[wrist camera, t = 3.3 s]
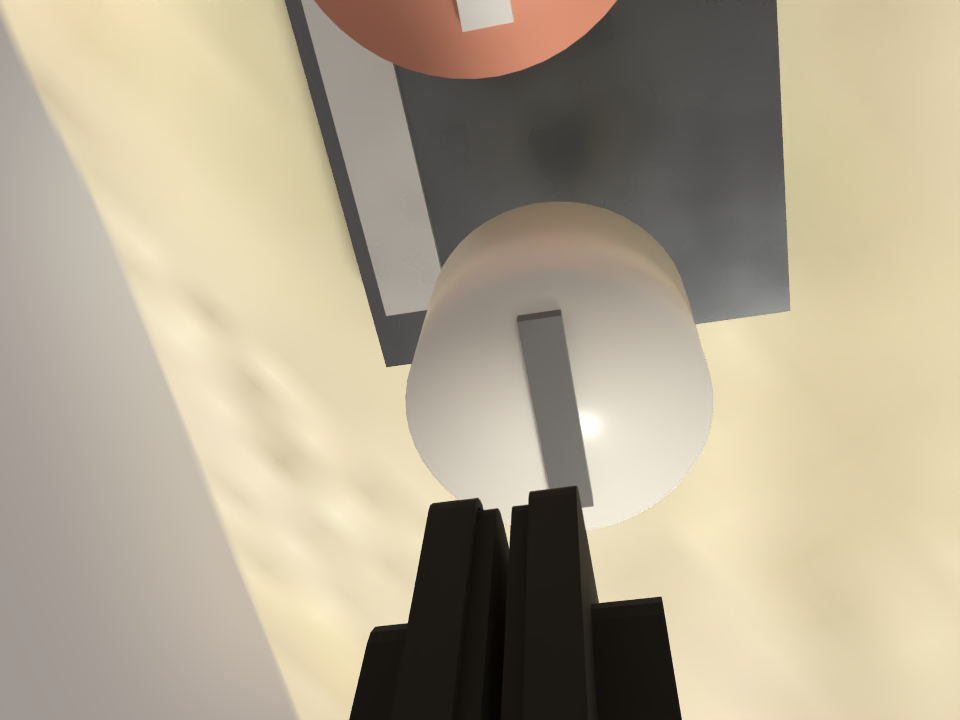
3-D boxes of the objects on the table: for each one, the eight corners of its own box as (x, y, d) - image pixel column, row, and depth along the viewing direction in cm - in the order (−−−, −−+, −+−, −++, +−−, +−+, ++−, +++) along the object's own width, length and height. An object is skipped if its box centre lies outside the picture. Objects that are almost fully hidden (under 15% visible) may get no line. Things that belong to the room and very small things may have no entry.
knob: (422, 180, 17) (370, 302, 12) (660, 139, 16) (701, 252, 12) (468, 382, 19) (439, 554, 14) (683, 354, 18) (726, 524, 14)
